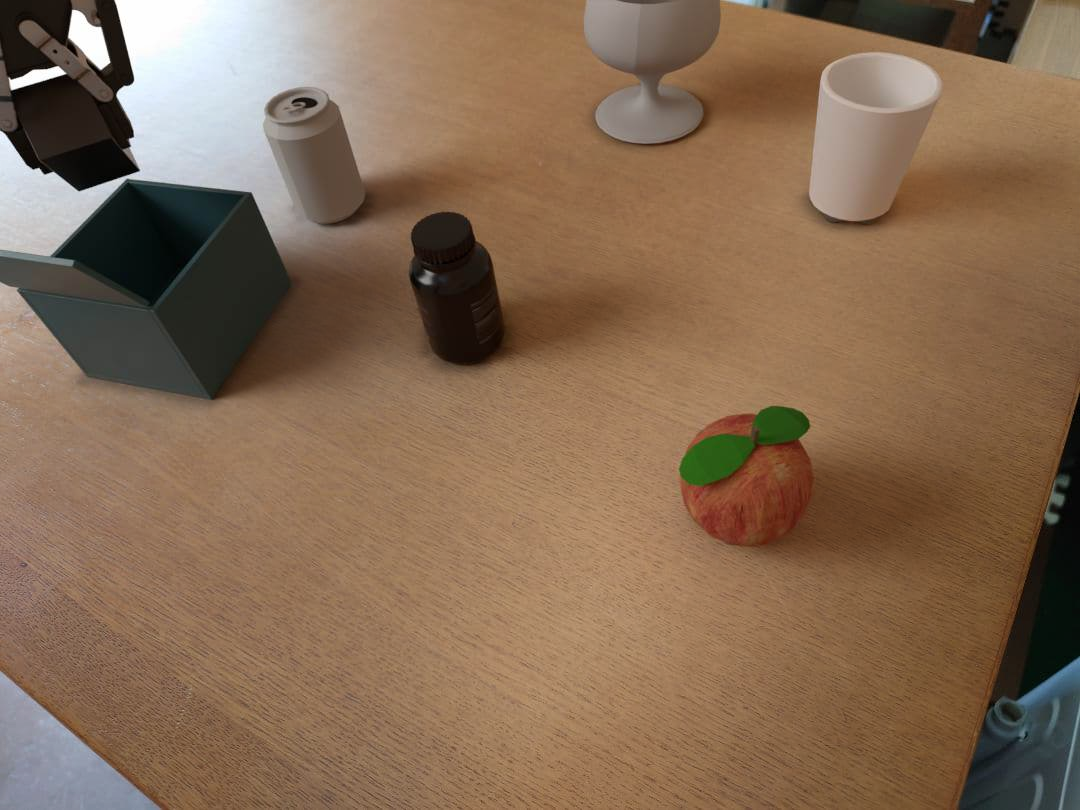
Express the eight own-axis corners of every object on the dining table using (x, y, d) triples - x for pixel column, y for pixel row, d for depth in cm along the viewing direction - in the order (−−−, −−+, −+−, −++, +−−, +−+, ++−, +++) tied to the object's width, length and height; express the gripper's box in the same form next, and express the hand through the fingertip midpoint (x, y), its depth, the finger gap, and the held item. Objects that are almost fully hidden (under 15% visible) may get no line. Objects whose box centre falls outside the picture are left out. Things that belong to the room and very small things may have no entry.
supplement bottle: (491, 302, 71) (471, 192, 62) (516, 352, 67) (498, 242, 58) (420, 325, 70) (388, 217, 61) (440, 377, 66) (410, 269, 57)
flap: (150, 301, 58) (147, 308, 58) (11, 280, 61) (9, 286, 61) (75, 259, 51) (72, 266, 51) (-77, 238, 54) (-80, 245, 54)
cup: (906, 240, 72) (950, 113, 62) (795, 233, 74) (821, 109, 64) (897, 176, 78) (937, 51, 68) (795, 171, 80) (819, 50, 70)
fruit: (829, 541, 53) (864, 457, 46) (703, 589, 52) (717, 511, 44) (765, 447, 59) (786, 358, 51) (649, 488, 57) (652, 403, 49)
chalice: (695, 159, 82) (707, 15, 71) (571, 143, 86) (562, 4, 75) (723, 91, 90) (737, -48, 79) (607, 79, 94) (605, -56, 83)
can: (381, 193, 83) (350, 88, 74) (339, 235, 79) (301, 129, 70) (326, 179, 86) (290, 75, 77) (283, 219, 82) (239, 114, 73)
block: (78, 192, 63) (39, 160, 54) (49, 132, 62) (4, 91, 53) (140, 171, 64) (111, 137, 55) (112, 112, 63) (79, 69, 54)
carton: (211, 399, 66) (154, 311, 58) (87, 377, 70) (15, 290, 61) (292, 282, 75) (251, 192, 67) (178, 267, 78) (126, 178, 70)
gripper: (-214, -47, 41) (-10, 215, 54) (64, -115, 44) (192, 147, 58) (-200, -88, 46) (-15, 164, 59) (52, -147, 49) (173, 104, 62)
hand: (87, 154), depth 58 cm, fingers closed on block, 5 cm apart
